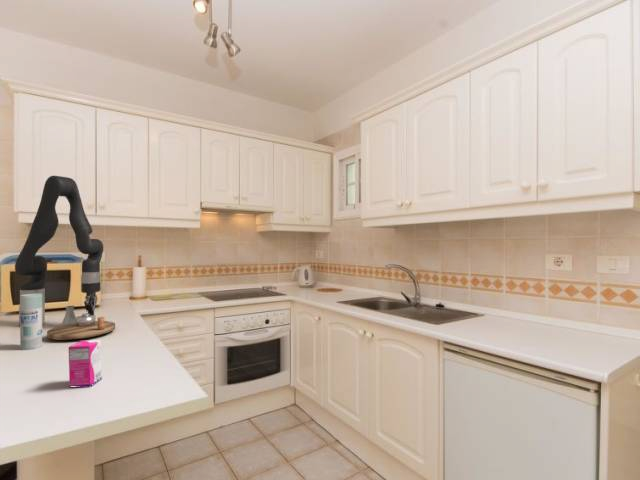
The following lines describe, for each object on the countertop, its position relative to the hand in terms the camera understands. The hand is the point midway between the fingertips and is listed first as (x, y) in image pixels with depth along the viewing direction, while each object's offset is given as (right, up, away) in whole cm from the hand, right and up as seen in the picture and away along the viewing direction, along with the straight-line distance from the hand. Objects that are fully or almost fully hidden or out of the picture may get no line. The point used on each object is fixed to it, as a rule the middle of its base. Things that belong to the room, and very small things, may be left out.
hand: (91, 318), depth 159 cm
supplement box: (+41, -4, -63) cm, 75 cm away
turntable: (+4, -3, -12) cm, 13 cm away
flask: (-10, -5, +1) cm, 11 cm away
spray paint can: (-3, -4, -30) cm, 30 cm away
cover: (+3, -1, -7) cm, 8 cm away
